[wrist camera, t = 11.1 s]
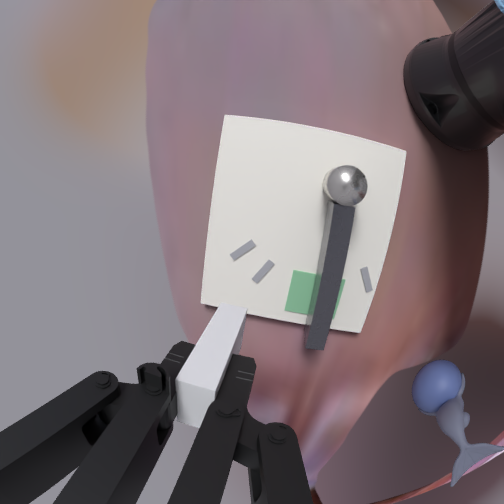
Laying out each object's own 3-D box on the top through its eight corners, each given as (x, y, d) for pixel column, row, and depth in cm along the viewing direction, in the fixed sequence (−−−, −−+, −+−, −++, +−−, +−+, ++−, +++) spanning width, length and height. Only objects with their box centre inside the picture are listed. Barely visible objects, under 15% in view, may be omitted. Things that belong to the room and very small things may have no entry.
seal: (426, 404, 34) (459, 490, 15) (395, 376, 33) (433, 483, 14) (463, 373, 32) (509, 453, 12) (438, 339, 31) (500, 436, 12)
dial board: (401, 152, 26) (407, 151, 24) (358, 326, 32) (360, 333, 30) (228, 117, 28) (224, 114, 26) (204, 298, 34) (200, 303, 32)
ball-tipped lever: (324, 164, 26) (330, 161, 22) (358, 170, 25) (369, 169, 21) (297, 327, 31) (297, 348, 27) (327, 330, 31) (330, 351, 26)
